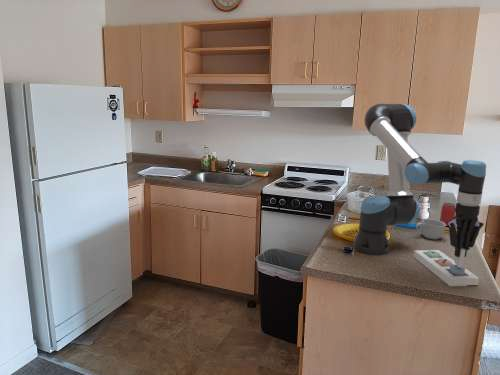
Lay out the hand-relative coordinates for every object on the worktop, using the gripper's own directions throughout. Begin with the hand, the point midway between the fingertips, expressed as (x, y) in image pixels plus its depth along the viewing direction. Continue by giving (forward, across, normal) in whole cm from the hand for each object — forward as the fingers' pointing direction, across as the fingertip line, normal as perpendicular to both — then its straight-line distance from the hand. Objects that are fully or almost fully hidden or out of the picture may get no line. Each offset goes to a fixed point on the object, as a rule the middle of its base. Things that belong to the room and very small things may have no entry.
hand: (458, 264), depth 144 cm
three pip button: (+5, 0, +8) cm, 10 cm away
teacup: (+6, +14, +44) cm, 47 cm away
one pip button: (+5, 0, +16) cm, 17 cm away
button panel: (+6, 0, +8) cm, 10 cm away
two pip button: (+4, 0, 0) cm, 4 cm away
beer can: (+6, +34, +61) cm, 71 cm away
